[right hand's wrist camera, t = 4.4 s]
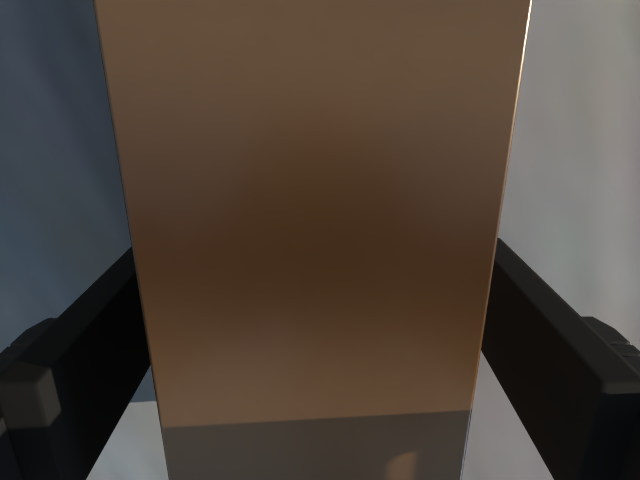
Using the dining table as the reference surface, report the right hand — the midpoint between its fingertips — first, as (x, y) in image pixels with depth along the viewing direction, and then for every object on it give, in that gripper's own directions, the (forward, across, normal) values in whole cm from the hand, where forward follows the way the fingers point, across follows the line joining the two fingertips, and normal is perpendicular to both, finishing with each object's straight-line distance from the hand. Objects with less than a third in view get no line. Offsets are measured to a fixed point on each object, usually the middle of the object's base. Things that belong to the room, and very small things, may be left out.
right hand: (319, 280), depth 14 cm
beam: (+1, 0, -28) cm, 28 cm away
